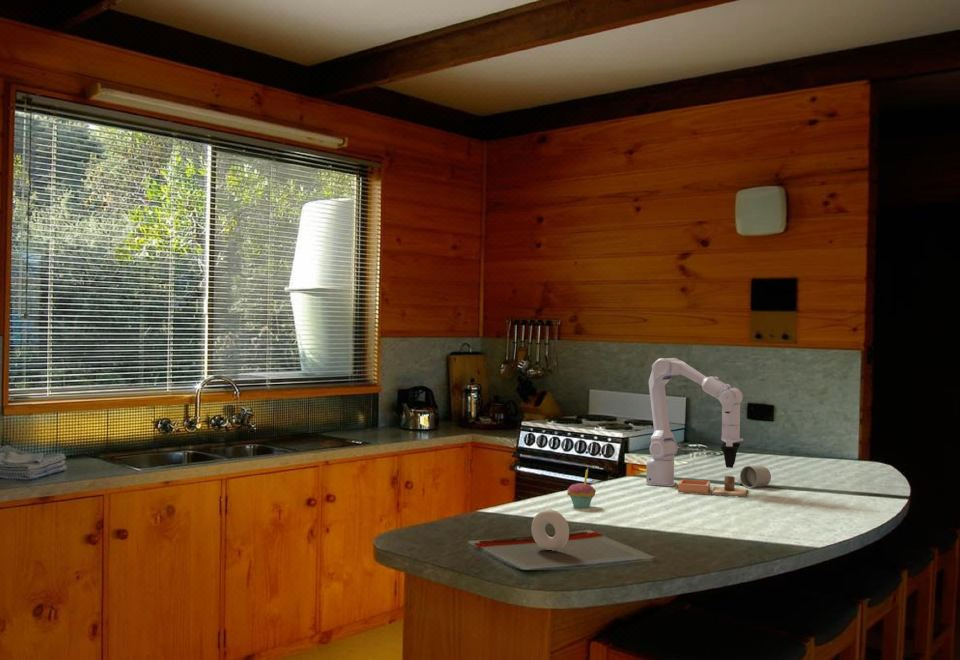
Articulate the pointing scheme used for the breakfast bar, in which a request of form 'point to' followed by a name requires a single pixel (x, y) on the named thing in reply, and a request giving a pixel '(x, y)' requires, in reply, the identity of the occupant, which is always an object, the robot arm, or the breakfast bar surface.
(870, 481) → the breakfast bar surface
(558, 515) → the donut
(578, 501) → the cupcake
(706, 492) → the dish
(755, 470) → the ceramic mug
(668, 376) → the robot arm
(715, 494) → the mat
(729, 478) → the lid
